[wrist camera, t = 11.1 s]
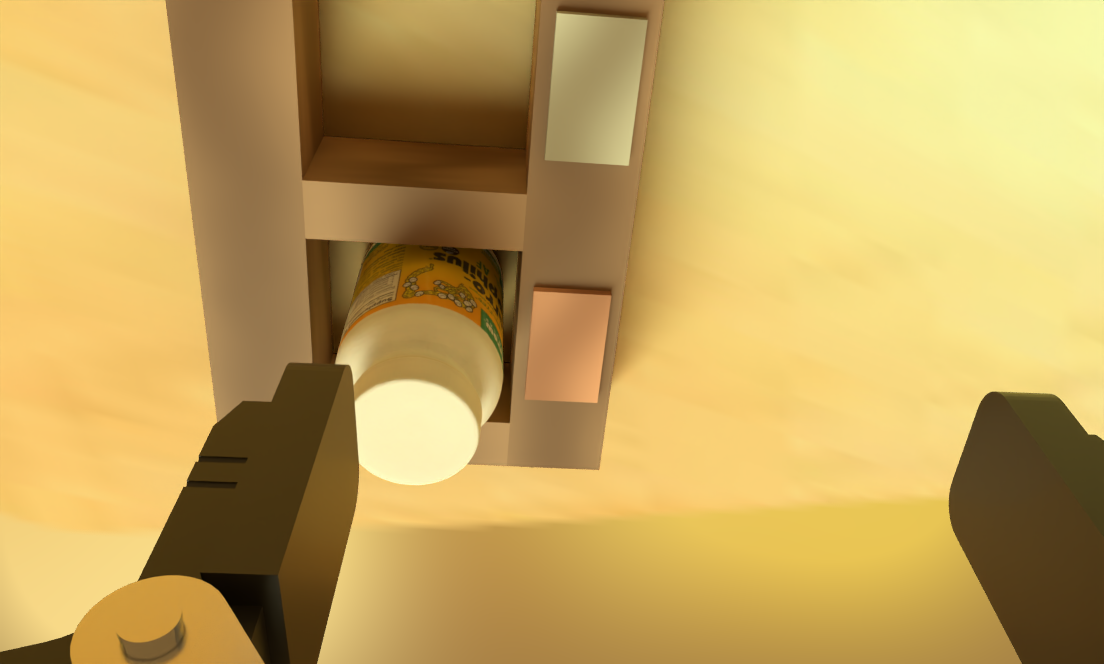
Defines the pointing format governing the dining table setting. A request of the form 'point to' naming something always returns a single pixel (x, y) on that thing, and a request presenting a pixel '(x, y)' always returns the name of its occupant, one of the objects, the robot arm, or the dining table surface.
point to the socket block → (418, 205)
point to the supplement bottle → (423, 357)
